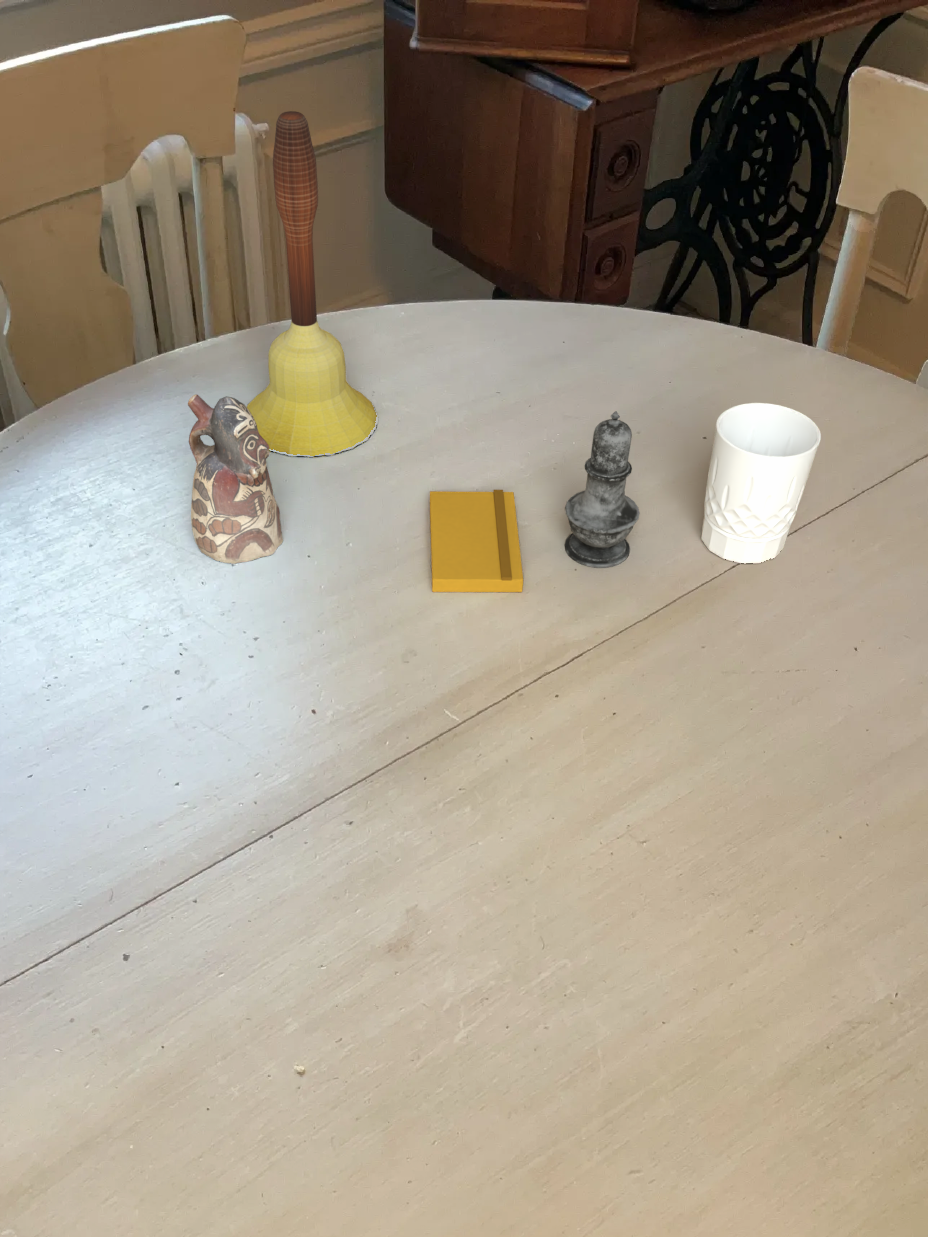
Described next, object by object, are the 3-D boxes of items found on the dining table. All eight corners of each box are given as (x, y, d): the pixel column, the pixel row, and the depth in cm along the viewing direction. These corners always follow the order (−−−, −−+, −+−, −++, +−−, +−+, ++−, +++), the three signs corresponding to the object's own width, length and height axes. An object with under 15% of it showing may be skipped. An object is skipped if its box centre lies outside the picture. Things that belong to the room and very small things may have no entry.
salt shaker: (553, 529, 103) (568, 393, 94) (622, 524, 104) (643, 388, 95) (570, 572, 100) (586, 435, 91) (642, 566, 100) (665, 429, 91)
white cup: (721, 501, 107) (745, 391, 99) (806, 535, 104) (837, 424, 96) (676, 545, 102) (698, 434, 95) (764, 581, 100) (793, 469, 92)
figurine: (260, 572, 99) (246, 433, 90) (178, 552, 100) (156, 413, 91) (296, 522, 103) (286, 385, 94) (217, 504, 105) (200, 367, 96)
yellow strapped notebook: (429, 503, 106) (429, 488, 104) (512, 504, 106) (513, 489, 105) (432, 592, 98) (432, 577, 97) (522, 592, 98) (523, 577, 97)
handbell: (393, 395, 117) (392, 96, 98) (357, 466, 109) (347, 155, 90) (266, 377, 118) (240, 78, 99) (222, 445, 110) (184, 136, 92)
